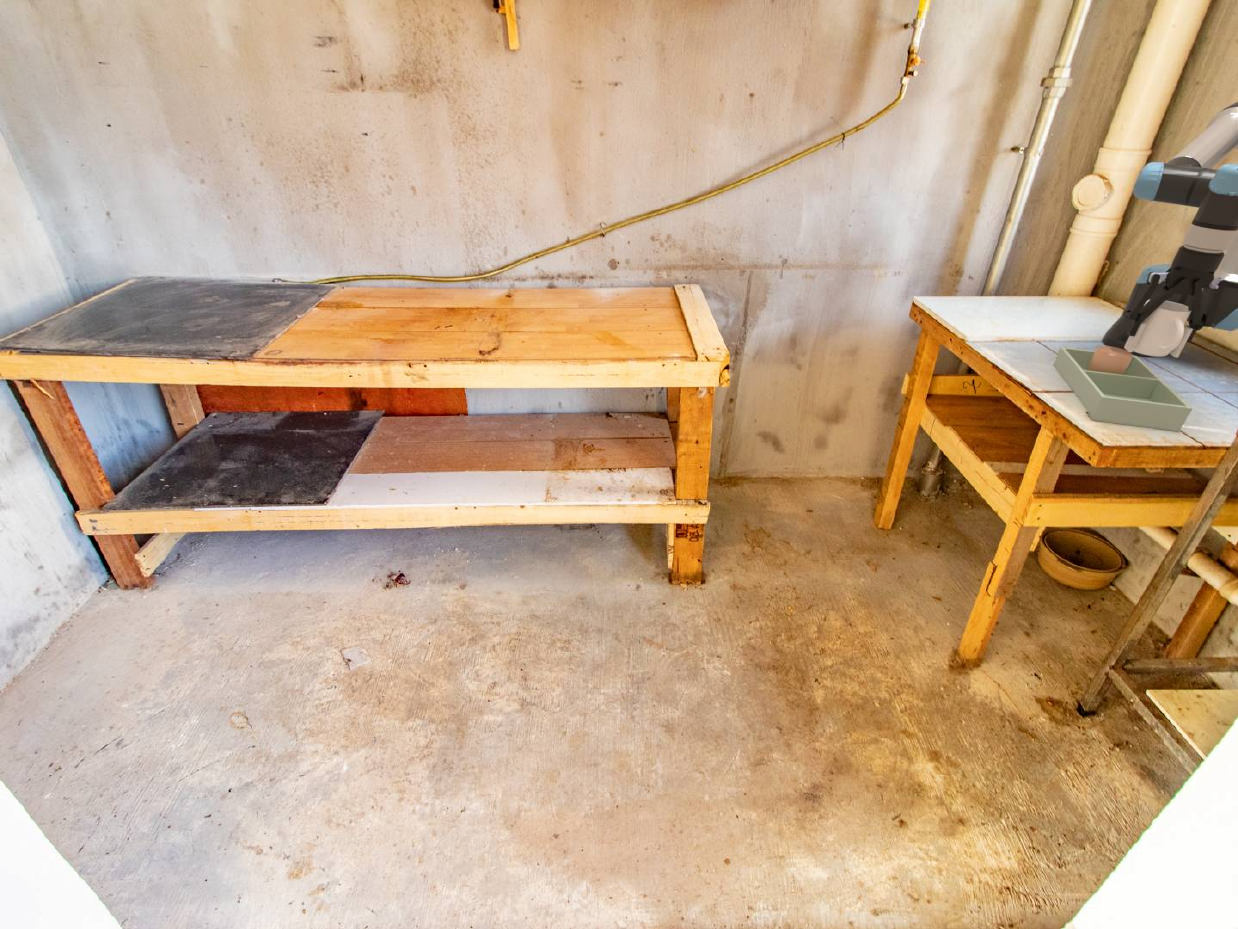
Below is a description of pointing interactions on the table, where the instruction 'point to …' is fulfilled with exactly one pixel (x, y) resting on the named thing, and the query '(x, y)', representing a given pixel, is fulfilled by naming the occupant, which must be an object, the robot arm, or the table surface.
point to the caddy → (1122, 393)
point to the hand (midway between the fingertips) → (1150, 352)
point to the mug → (1163, 329)
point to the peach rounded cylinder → (1110, 360)
